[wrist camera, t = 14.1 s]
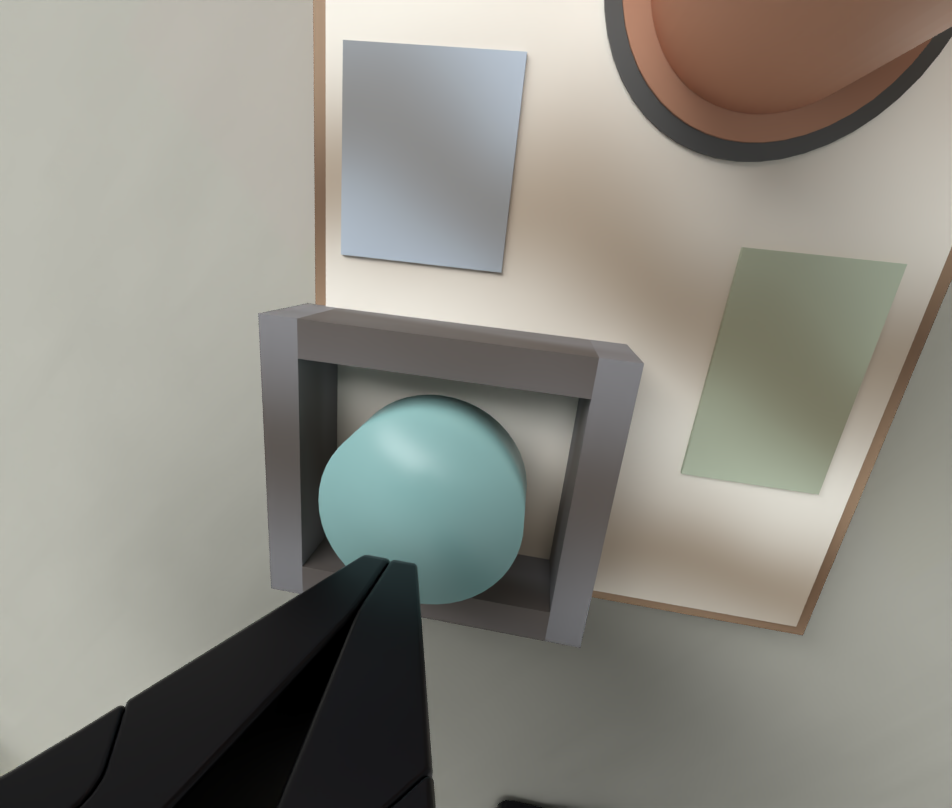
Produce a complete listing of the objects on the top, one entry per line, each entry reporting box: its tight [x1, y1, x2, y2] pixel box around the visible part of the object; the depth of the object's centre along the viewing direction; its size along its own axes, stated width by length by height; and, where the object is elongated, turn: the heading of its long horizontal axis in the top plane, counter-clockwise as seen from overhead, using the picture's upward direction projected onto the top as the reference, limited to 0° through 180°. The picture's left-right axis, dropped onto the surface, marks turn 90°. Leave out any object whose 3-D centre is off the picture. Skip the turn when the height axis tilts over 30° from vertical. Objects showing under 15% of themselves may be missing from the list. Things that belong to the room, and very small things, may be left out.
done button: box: [318, 394, 527, 604], centre depth 10 cm, size 4×4×2 cm
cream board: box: [258, 0, 952, 648], centre depth 9 cm, size 17×13×3 cm
